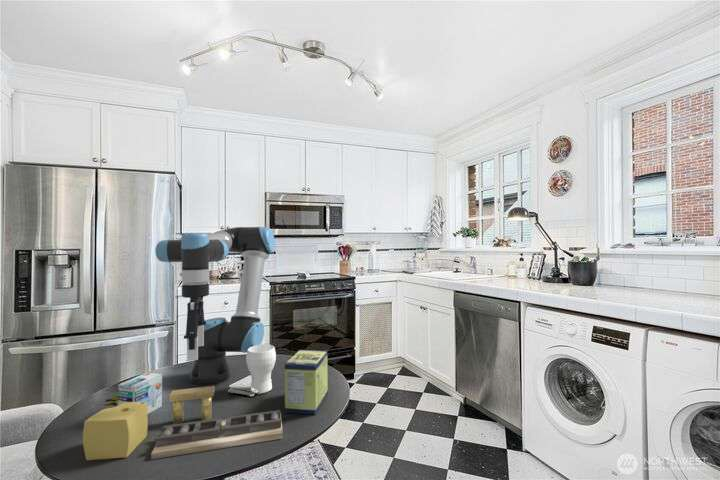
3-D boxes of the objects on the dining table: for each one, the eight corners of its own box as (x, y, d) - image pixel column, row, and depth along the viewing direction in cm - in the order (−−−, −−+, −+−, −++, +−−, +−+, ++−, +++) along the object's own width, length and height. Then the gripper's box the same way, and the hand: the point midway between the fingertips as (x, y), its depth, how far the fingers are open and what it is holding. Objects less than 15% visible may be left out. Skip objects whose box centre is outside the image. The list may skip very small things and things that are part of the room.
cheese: (109, 438, 93) (109, 402, 93) (150, 436, 94) (150, 400, 94) (81, 462, 83) (82, 421, 83) (127, 459, 84) (127, 419, 84)
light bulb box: (134, 422, 101) (134, 386, 102) (116, 419, 103) (116, 384, 103) (163, 405, 112) (163, 373, 112) (146, 403, 113) (146, 371, 114)
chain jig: (164, 433, 95) (165, 420, 95) (280, 417, 104) (280, 405, 104) (151, 459, 83) (151, 444, 84) (282, 438, 92) (282, 424, 92)
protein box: (328, 393, 120) (327, 350, 120) (316, 415, 105) (315, 365, 105) (300, 391, 122) (299, 348, 122) (284, 413, 106) (283, 363, 107)
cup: (267, 396, 118) (267, 353, 118) (240, 394, 120) (240, 352, 120) (280, 384, 128) (280, 344, 129) (255, 382, 130) (255, 343, 131)
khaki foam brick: (172, 420, 102) (172, 390, 103) (214, 414, 106) (214, 385, 106) (169, 425, 99) (169, 395, 99) (212, 419, 102) (212, 390, 103)
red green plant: (96, 409, 110) (96, 395, 110) (113, 394, 122) (113, 381, 122) (137, 405, 113) (137, 392, 113) (150, 390, 125) (150, 378, 125)
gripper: (188, 279, 113) (189, 342, 113) (173, 289, 90) (173, 368, 89) (212, 278, 116) (213, 340, 116) (203, 287, 92) (204, 365, 92)
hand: (196, 352), depth 103 cm, fingers open, 13 cm apart
